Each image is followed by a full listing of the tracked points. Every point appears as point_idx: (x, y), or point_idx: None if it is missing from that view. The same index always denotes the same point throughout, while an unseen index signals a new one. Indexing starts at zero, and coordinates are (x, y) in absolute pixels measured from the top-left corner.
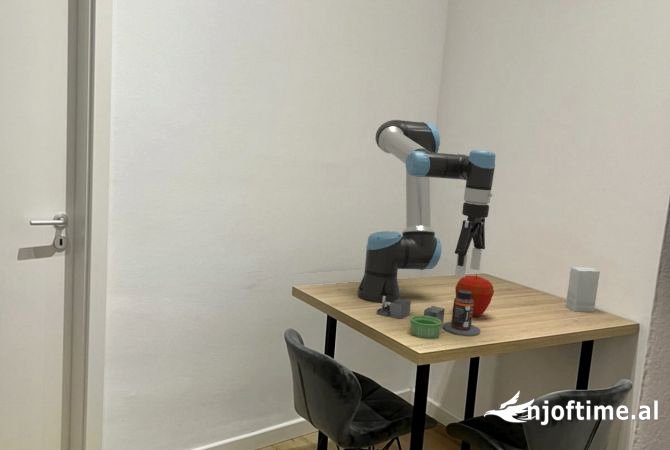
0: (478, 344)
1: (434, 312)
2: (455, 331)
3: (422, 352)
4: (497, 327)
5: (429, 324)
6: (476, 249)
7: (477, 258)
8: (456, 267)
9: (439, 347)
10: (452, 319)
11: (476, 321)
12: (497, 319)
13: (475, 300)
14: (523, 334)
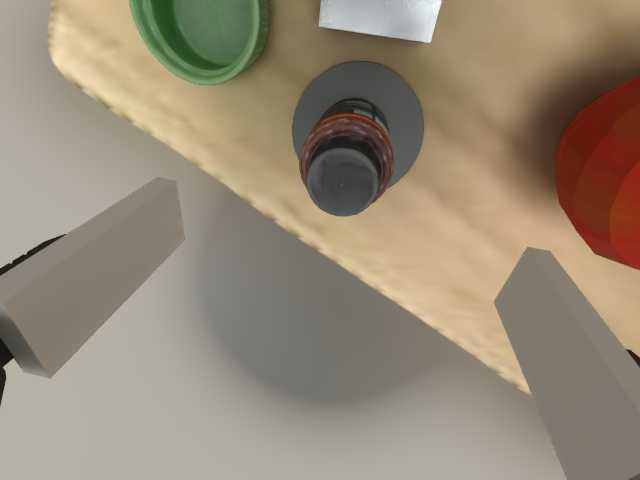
0: (253, 200)
1: (321, 13)
2: (295, 125)
3: (59, 69)
4: (461, 233)
5: (148, 46)
6: (617, 472)
7: (543, 371)
8: (112, 210)
9: (139, 106)
10: (331, 107)
11: (507, 165)
12: (572, 228)
13: (560, 181)
14: (425, 293)
